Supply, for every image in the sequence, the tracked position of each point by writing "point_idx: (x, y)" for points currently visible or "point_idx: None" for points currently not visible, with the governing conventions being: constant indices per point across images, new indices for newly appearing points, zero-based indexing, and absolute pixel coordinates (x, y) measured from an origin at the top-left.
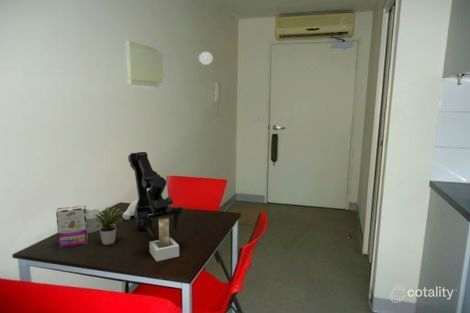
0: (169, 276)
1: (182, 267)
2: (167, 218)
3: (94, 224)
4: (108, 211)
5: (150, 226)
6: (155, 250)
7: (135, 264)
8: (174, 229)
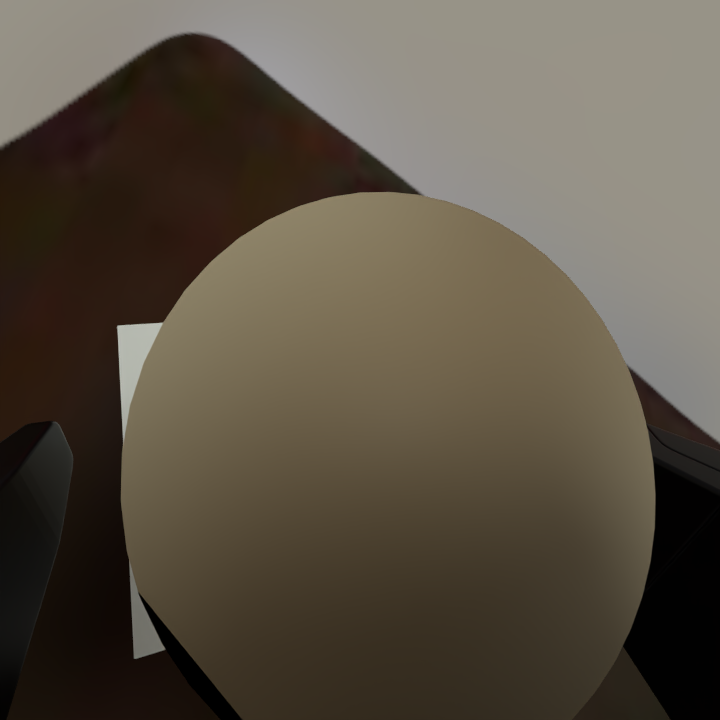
0: (306, 116)
1: (187, 171)
2: (208, 487)
3: None
4: None
5: (649, 437)
6: None
7: None
8: (47, 487)
